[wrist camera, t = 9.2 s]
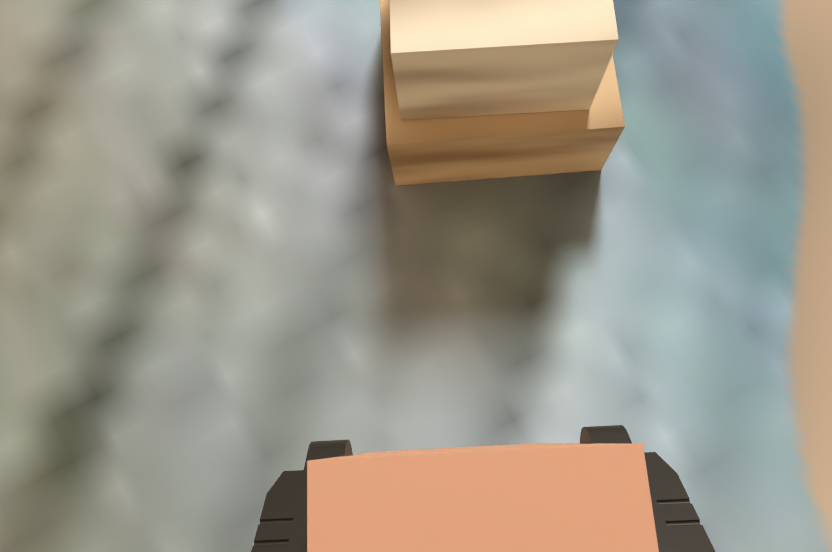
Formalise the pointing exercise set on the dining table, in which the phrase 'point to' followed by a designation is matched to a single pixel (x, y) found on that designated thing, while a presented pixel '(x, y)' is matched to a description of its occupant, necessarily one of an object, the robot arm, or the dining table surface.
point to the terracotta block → (483, 500)
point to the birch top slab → (499, 55)
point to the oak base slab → (498, 136)
